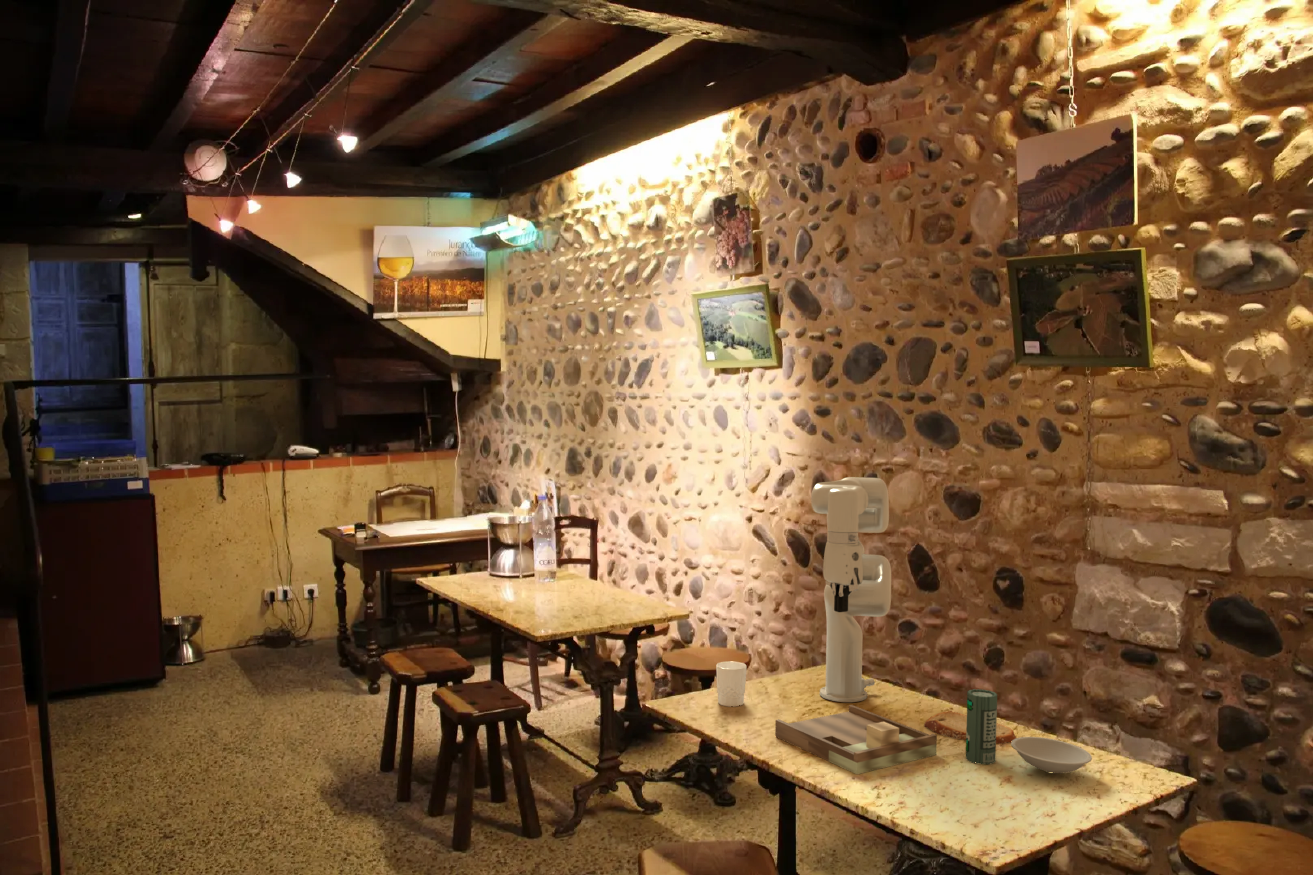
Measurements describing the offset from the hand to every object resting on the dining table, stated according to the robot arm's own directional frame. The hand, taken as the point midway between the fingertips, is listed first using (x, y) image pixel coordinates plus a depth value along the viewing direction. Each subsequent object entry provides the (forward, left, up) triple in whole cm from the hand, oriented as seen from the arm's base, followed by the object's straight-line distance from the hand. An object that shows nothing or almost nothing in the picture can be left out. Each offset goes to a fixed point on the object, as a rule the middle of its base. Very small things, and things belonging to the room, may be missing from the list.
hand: (841, 611), depth 261 cm
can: (-8, +38, -27) cm, 47 cm away
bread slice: (-21, +23, -28) cm, 42 cm away
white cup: (+16, -24, -27) cm, 40 cm away
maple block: (+11, +27, -25) cm, 38 cm away
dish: (-15, +51, -27) cm, 60 cm away
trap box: (+10, +17, -27) cm, 34 cm away
